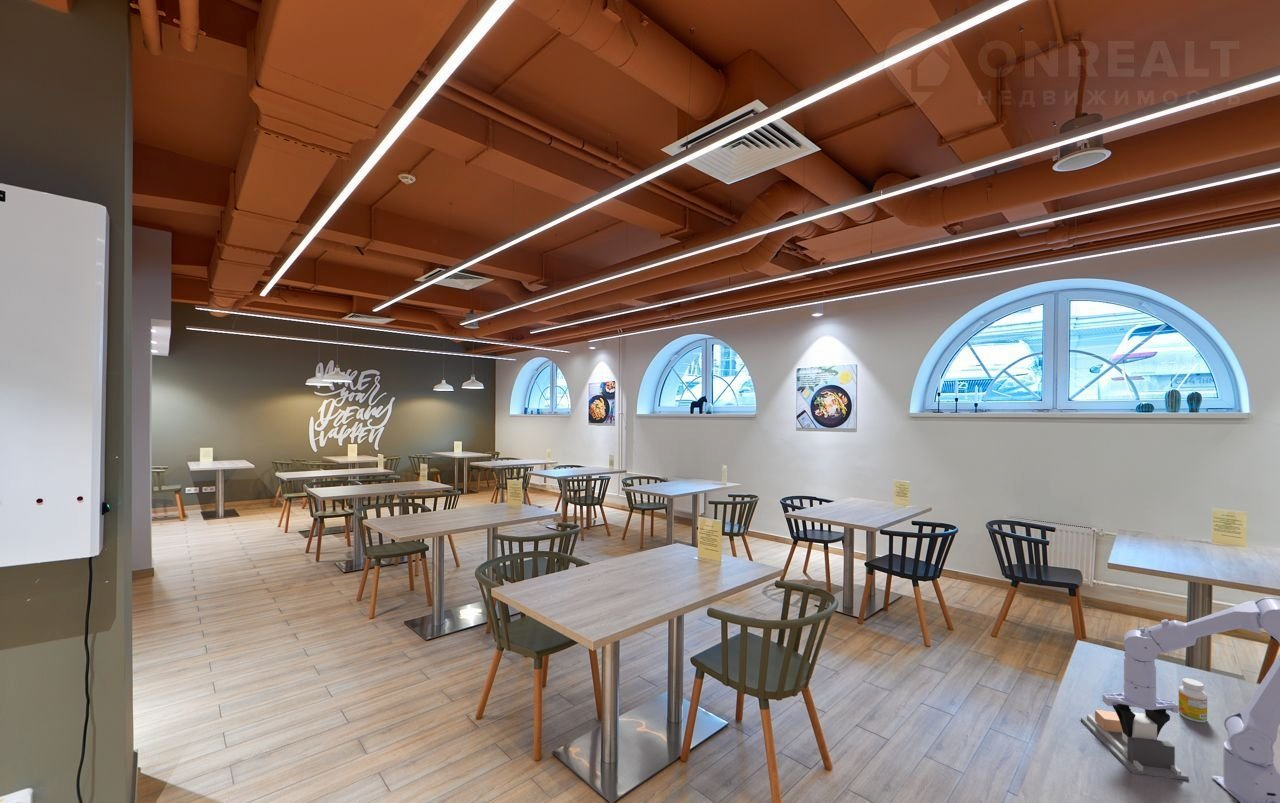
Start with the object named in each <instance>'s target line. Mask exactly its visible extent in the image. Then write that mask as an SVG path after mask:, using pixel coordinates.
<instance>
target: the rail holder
mask: <svg viewBox="0 0 1280 803" xmlns="http://www.w3.org/2000/svg"><path fill="white" fill-rule="evenodd" d="M1080 721H1081V723H1083V724H1084V725H1085V726H1086V727H1087V728H1088V729H1089V730H1090V731H1091V732H1092V733H1093V734H1094V736H1095V737H1097V739H1099V741H1100V742H1101V743H1102V744H1103V745H1104V746H1105V747H1106V748H1107V749H1108V750H1109V752H1111V753H1112V754H1113V755H1114V756H1115V757H1116V758H1117V759H1118V760H1119V761H1120V762H1121V764H1123V766H1124V767H1126V768H1127V769H1128V770H1129V771H1130V773H1132V774H1137V775H1144V776H1145V775H1146V776H1153V777H1161V778H1170V779H1177V780H1178V779H1179V780H1183V781H1184V780H1185V781H1190V779H1189V778H1190V776H1189V775H1187V773H1185V772H1184V771H1183V770H1182V769H1181V768H1180V767H1179V766H1177V765H1176V759H1175V758H1176V756H1175V755H1176V748H1175V746H1174V745H1173V744H1172V743H1171V742H1170V741H1167V740H1159V739H1157V740H1152V739H1143V738H1134V737H1128V740H1127V743H1126V742H1125V741H1124V740H1123V739H1122V733H1121V732H1113V731H1105V730H1104V729H1103V728H1102V727H1101V726H1100V725H1099V724H1098V723H1097V722H1096V721H1095V717H1093V716H1092V715H1091V714H1086V717H1080Z"/></svg>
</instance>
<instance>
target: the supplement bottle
mask: <svg viewBox="0 0 1280 803" xmlns="http://www.w3.org/2000/svg"><path fill="white" fill-rule="evenodd" d="M1181 680H1182V685H1180V686H1179V687H1178V714H1179V715H1180V716H1182V717H1183V718H1185V719H1187V720H1190V721H1192V722H1196V723H1206V722H1208V694H1207V693H1206V692H1205V691H1204V688H1205V687H1204V686H1205V685H1204V683H1202V682H1201V681H1199V680H1196V679H1194V678H1187V677H1186V678H1182V679H1181Z"/></svg>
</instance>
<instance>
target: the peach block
mask: <svg viewBox="0 0 1280 803" xmlns="http://www.w3.org/2000/svg"><path fill="white" fill-rule="evenodd" d="M1094 719H1095V721H1096V722H1097V723H1098V724H1099V725H1100V726H1101V727H1102V728H1103V729H1104V730H1105V731H1113V732H1121V733H1122V726H1121V723H1120V720H1119V718H1118V715H1117V713H1116V711H1111V710H1110V711H1109V710H1101V709H1094Z"/></svg>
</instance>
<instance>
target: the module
mask: <svg viewBox="0 0 1280 803" xmlns="http://www.w3.org/2000/svg"><path fill="white" fill-rule="evenodd" d="M1132 712H1133V711H1132ZM1133 713H1134V714H1135V715H1136V716H1135V718H1134V720H1133V725H1132V737H1134V738H1143V739H1152V740H1158V737H1157V724H1156V723H1154V722H1153V721H1152V720H1151V719H1150V718H1148V717H1147V716H1146V713H1141V712H1133ZM1122 739H1123V740H1124V741H1125V742H1126V743H1127V740H1128V737H1127V736H1126V735H1125V734H1124V733H1123V731H1122Z"/></svg>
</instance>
